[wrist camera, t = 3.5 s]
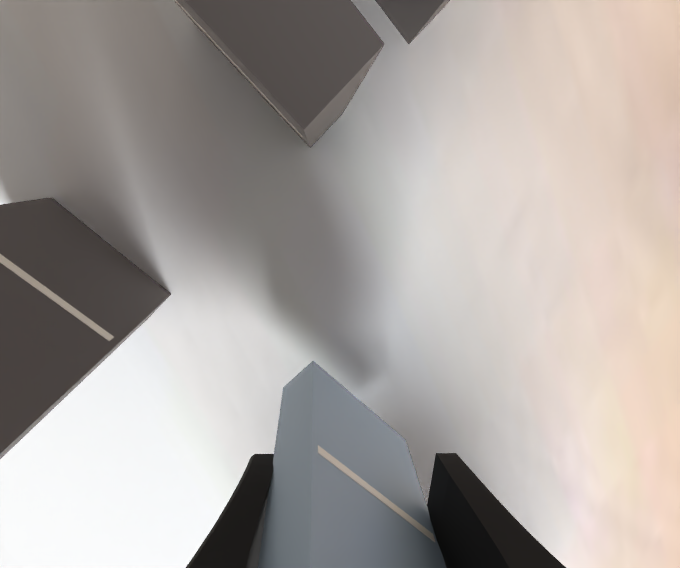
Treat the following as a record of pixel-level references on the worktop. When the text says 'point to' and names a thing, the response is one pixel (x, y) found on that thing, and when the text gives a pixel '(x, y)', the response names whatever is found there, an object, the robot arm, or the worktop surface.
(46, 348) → the tile
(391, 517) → the tile
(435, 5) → the tile
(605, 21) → the worktop surface
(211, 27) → the tile
